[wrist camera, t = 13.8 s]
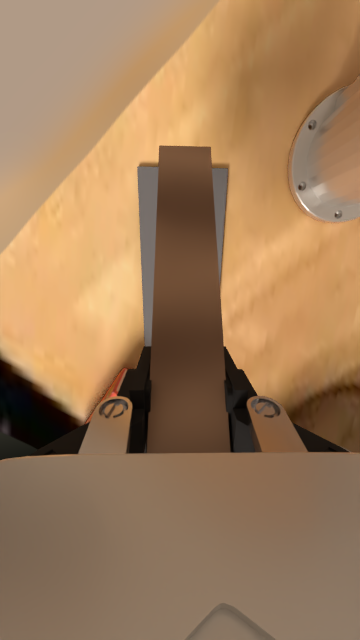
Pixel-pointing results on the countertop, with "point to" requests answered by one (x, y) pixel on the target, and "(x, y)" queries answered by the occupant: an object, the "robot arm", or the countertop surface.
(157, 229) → the bar
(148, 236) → the mat
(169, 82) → the countertop surface
